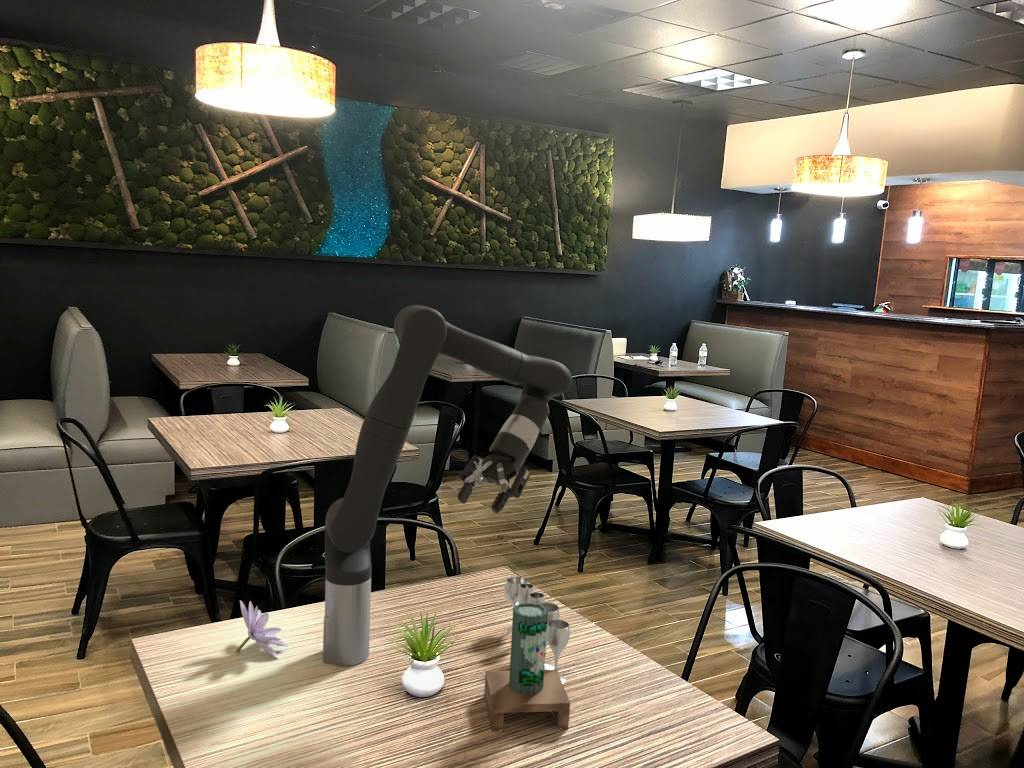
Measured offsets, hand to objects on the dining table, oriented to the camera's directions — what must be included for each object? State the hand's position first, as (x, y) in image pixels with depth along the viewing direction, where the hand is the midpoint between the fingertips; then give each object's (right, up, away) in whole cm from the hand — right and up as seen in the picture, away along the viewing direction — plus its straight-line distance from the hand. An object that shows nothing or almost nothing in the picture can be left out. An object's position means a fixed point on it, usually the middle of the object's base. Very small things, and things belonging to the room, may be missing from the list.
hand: (477, 506), depth 159 cm
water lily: (-45, -32, +8) cm, 56 cm away
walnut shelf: (+9, -37, -9) cm, 39 cm away
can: (+9, -32, -10) cm, 35 cm away
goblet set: (+11, -34, +14) cm, 38 cm away
